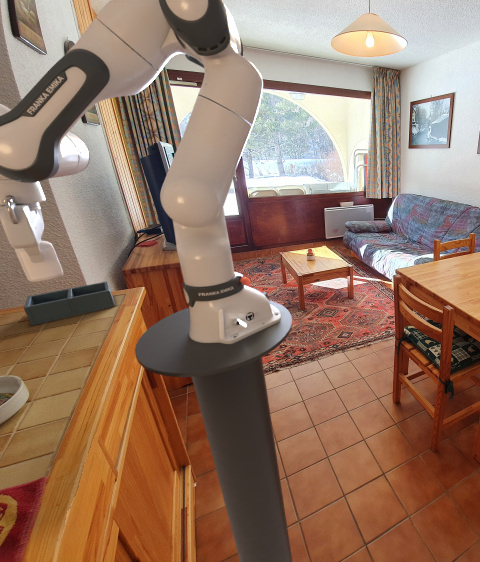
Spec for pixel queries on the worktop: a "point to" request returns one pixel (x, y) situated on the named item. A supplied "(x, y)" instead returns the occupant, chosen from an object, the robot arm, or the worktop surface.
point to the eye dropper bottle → (41, 264)
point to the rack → (68, 302)
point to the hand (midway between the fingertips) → (39, 258)
